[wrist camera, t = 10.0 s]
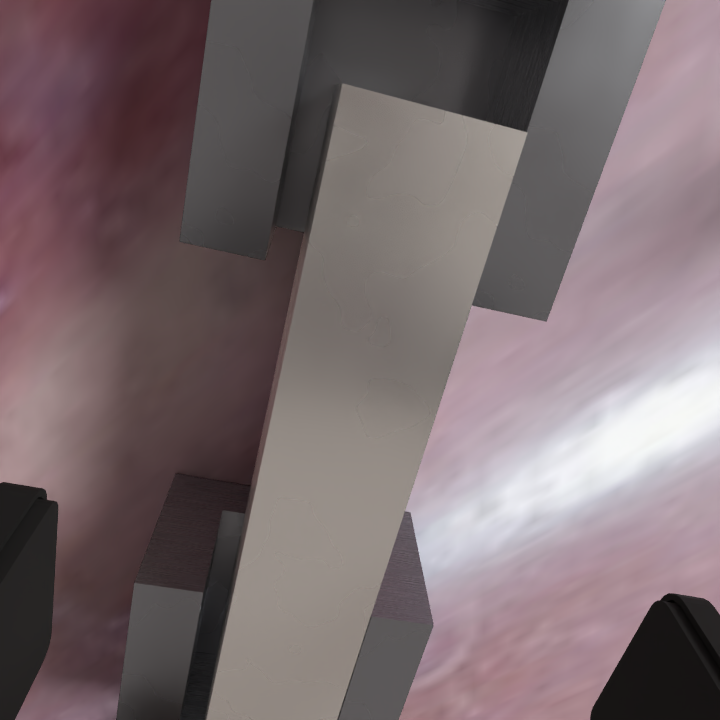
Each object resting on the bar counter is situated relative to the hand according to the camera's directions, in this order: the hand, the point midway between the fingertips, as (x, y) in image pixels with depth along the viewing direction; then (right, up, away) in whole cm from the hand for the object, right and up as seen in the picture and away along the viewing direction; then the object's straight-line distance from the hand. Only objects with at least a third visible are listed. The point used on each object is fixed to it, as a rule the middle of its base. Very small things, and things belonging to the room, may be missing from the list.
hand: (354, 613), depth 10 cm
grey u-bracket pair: (-1, +3, +10) cm, 11 cm away
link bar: (-1, +3, +8) cm, 9 cm away
